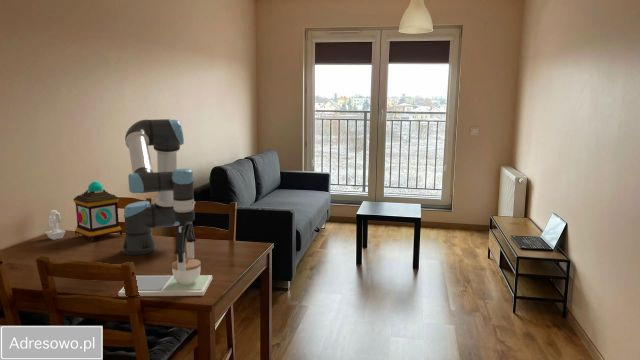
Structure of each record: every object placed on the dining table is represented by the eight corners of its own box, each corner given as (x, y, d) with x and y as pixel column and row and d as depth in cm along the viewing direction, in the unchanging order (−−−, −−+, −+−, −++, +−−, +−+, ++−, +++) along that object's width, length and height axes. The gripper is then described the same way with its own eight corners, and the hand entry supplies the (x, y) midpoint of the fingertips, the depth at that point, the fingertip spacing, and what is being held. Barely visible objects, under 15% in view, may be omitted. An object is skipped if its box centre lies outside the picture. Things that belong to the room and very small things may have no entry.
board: (118, 296, 172) (118, 291, 172) (135, 279, 189) (134, 275, 189) (203, 295, 173) (203, 290, 173) (212, 278, 190) (212, 274, 190)
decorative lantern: (108, 229, 264) (104, 177, 260) (126, 235, 252) (122, 180, 247) (71, 237, 249) (66, 181, 244) (88, 244, 237) (84, 185, 232)
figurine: (58, 235, 252) (56, 208, 250) (67, 238, 247) (65, 210, 245) (44, 238, 247) (42, 210, 244) (53, 241, 241) (50, 212, 239)
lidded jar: (193, 288, 175) (192, 264, 174) (167, 286, 177) (166, 262, 176) (206, 278, 186) (205, 255, 184) (181, 276, 188) (180, 253, 186)
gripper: (185, 218, 165) (188, 275, 168) (201, 203, 189) (203, 253, 193) (164, 218, 164) (167, 275, 168) (182, 203, 189) (184, 253, 192)
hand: (186, 264), depth 180 cm, fingers open, 13 cm apart
